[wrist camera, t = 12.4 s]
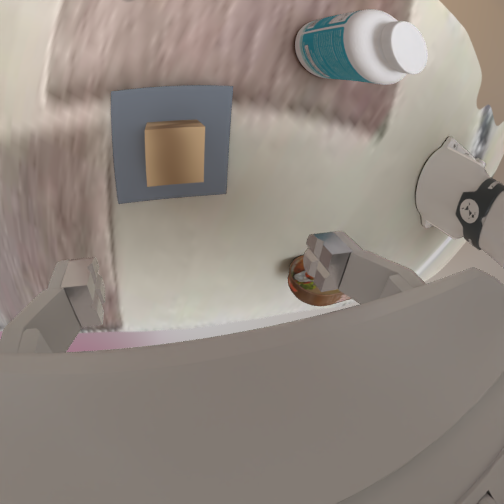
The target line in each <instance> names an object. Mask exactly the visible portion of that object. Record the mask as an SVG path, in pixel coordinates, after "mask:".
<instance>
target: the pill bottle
mask: <svg viewBox="0 0 504 504" xmlns="http://www.w3.org/2000/svg"><path fill="white" fill-rule="evenodd" d="M295 50H296V54H297V57H298V59H299V61H300V63H301V64H302V65H303V66H304V68H305V69H306V70H308V71H309V72H310V73H312V74H313V75H316V76H318V77H321V78H329V79H341V80H352V81H361V82H368V83H375V84H383V85H387V84H393V83H396V82H398V81H400V80H401V79H402V78H404V77H405V75H406V74H418V73H420V72H421V71H422V70H423V69H424V68H425V66H426V63H427V56H428V53H427V46H426V42H425V40H424V37H423V36H422V34H421V32H420V31H419V30H418V29H417V28H416V27H415V26H414V25H413V24H411V23H409V22H405V21H397V20H396V19H395V18H394V17H392V16H391V15H389V14H387V13H385V12H383V11H380V10H373V9H369V10H361V11H355V12H350V13H345V14H340V15H335V16H331V17H327V18H323V19H319V20H315V21H312V22H309V23H307V24H305V25H304V26H303V27H302V28H301V29H300V30H299V32H298V34H297V36H296V40H295Z"/></svg>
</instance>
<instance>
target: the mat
mask: <svg viewBox="0 0 504 504" xmlns="http://www.w3.org/2000/svg"><path fill="white" fill-rule="evenodd" d="M232 94H233V86H210V85H192V86H163V87H149V88H138V89H128V90H120V91H112V92H111V123H112V144H113V158H114V169H115V179H116V188H117V197H118V204H122V203H130V202H139V201H148V200H158V199H168V198H179V197H191V196H203V195H217V194H226V190H227V171H228V153H229V137H230V122H231V108H232ZM175 120H198V121H199V122H200V123H202V124H203V125H204V126H205V148H204V182H197V183H184V184H172V185H161V186H151V187H147V176H146V157H145V127H146V124H147V122H159V121H175Z"/></svg>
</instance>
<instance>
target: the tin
mask: <svg viewBox="0 0 504 504" xmlns="http://www.w3.org/2000/svg"><path fill="white" fill-rule="evenodd" d="M303 257H304V255H302V256H299V257H297V258H296V259H294V260H293V262H292V263H291V265H290V269H289V276H288V285H289V287H290V289H291V291H292V292H293V294H294V295H295V296H296V297H297V298H298V299H299V300H301V301H303V302H305V303H307V304H310V305H314V306H327V305H331V304H334V303H338V302H342V301H345V300H349V299H352V298H350V297H349V296H347V295H345V294H344V293H342V292H341V291H339V289H336V290H331V291H325V292H321V291H320V290H319V289H318V287H317V286H316V285H315V283H314V282H313V281H314V277H312V276H310V275H308V274H307V272H306V271H305V268H304V264H303Z"/></svg>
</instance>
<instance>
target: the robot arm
mask: <svg viewBox="0 0 504 504" xmlns="http://www.w3.org/2000/svg"><path fill="white" fill-rule="evenodd" d="M485 166H486V163H485V162H484V161H482V160H481V159H479V158H477V159H475V158H474V157H473V156H472V155H471V154H470V153H469V152H468V151H467V150H466V149H465V148H464V147H463V146H462V145H461V144H460V143H458V142H457V141H456V140H455V139H454V138H452V137H448V138H447V139H446V141H445V142H444V144H443V146H442V147H441V148H440V149H438V150H437V151H436V152H434V153H433V154H432V156H431V157H430V158H429V159H428V161H427V162H426V164H425V166H424V168H423V170H422V172H421V175H420V178H419V181H418V185H417V190H416V205H417V209H418V211H419V213H420V214H421V217H422V226H424V227H425V228H429V227H432V226H435V227H436V228H438V229H439V230H441V231H442V232H444V233H445V234H447V235H448V236H450V237H451V238H453V239H458V238H461V237H464V238H465V240H467V241H468V242H469V243H470V244H471V245H472V246H474V247H476V248H477V249H479V250H481V249H482V250H483V251H484V252H486V253H487V254H488V255H489V256H490V257H491V258H493V259H494V260H495V261H496V262H497V263H498V264H499V265H500V266H502V267H503V268H504V186H503V184H502V183H500V182H498V181H496V180H494V179H493V178H491V177H490V176H489V174H488V173H487V172H486V170H485ZM306 244H307V246H308V249H307V250H306V251H305V253H304V257H303V264H304V268H305V271H306V272H307V274H308V275H310V276H312V277H314V281H313V282H314V283H315V285H316V286H317V287H318V289H319V290H320V291H321V292H325V291H331V290H336V289H339V291H341V292H342V293H344V294H345V295H347V296H349V297H350V298H352V299H353V300H355V301H356V302H358V303H360V305H356V306H353V307H349V308H345V309H341V310H338V311H333V312H330V313H326V314H322V315H317V316H313V317H310V318H305V319H300V320H296V321H292V322H287V323H283V324H278V325H273V326H269V327H264V328H259V329H254V330H248V331H243V332H238V333H233V334H227V335H221V336H215V337H210V338H203V339H196V340H190V341H183V342H176V343H168V344H161V345H152V346H143V347H133V348H124V349H113V350H99V351H83V352H66V351H67V350H68V348H69V347H70V345H71V344H72V342H73V340H74V339H75V337H76V336H77V334H78V333H79V332H80V330H81V327H89V326H98V325H102V324H103V313H104V311H103V308H102V305H103V303H104V302H105V288H104V283H103V279H102V277H101V276H100V275H99V274H98V270H99V265H98V262H97V259H96V258H95V257H91V258H81V259H71V260H62V261H58V262H57V264H56V266H55V269H54V271H53V274H52V277H51V280H50V282H49V285H48V288H47V290H43V291H42V292H41V293H40V294H39V295H38V296H37V297H36V298H34V299H33V300H32V301H31V302H30V303H29V304H28V305H27V306H26V307H25V308H24V309H23V310H22V311H21V312H20V313H19V314H18V315H17V316H16V317H15V318H14V319H13V320H12V321H11V322H10V323H9V324H8V325H7V326H6V327H5V328H4V330H3V333H2V336H1V339H0V504H504V284H503V283H501V282H500V281H499V280H498V279H496V278H495V277H493V276H491V275H490V274H488V273H486V272H484V271H482V270H480V269H477V268H469V269H466V270H463V271H461V272H458V273H456V274H453V275H450V276H448V277H445V278H442V279H439V280H436V281H434V282H430V283H427V284H426V283H425V282H424V281H423V280H422V279H421V278H420V277H419V276H418V275H417V274H416V273H415V272H414V271H413V270H411V269H409V268H406V267H404V266H402V265H400V264H397V263H395V262H393V261H390V260H388V259H386V258H383V257H381V256H379V255H376V254H374V253H372V252H369V251H367V250H364V251H363V250H362V249H361V248H360V247H359V246H358V245H357V244H356V243H355V242H354V241H353V240H352V239H351V238H350V237H349V236H348V235H347V234H346V233H344V232H343V231H334V232H328V233H319V234H311V235H309V237H308V239H307V243H306Z"/></svg>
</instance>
